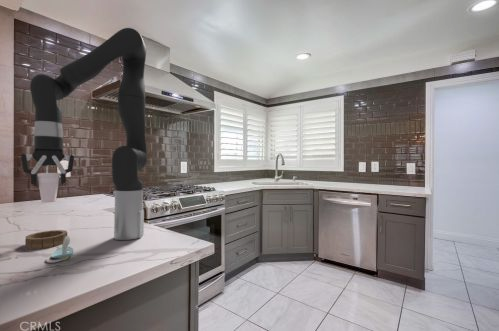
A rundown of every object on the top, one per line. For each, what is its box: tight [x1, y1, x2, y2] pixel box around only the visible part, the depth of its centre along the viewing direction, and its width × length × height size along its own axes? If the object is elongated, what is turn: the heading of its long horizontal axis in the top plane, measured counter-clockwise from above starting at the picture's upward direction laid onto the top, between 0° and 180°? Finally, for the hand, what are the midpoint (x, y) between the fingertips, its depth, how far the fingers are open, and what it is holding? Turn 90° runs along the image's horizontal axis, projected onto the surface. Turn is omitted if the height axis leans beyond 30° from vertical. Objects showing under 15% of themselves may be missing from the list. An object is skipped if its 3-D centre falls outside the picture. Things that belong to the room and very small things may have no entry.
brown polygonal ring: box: [24, 229, 68, 250], centre depth 78 cm, size 10×10×3 cm
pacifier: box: [45, 235, 74, 264], centre depth 66 cm, size 7×6×6 cm
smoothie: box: [36, 165, 61, 204], centre depth 81 cm, size 6×6×14 cm
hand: (48, 184), depth 81 cm, fingers closed on smoothie, 6 cm apart
